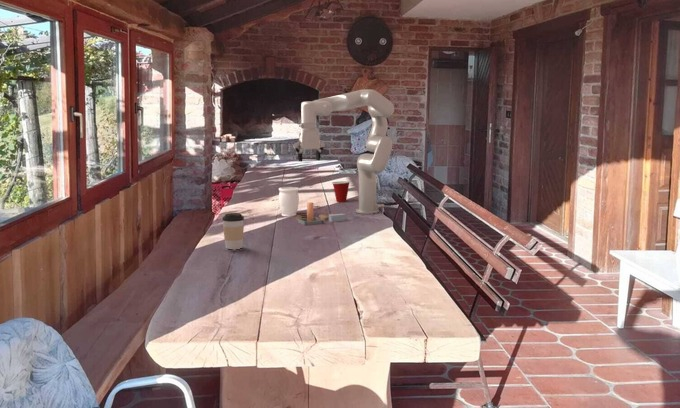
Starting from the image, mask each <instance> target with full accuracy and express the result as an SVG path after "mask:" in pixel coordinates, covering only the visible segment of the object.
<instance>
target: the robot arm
mask: <svg viewBox="0 0 680 408" xmlns="http://www.w3.org/2000/svg"><path fill="white" fill-rule="evenodd" d="M300 105H301V106H300V111H301V112H300V115H301V117H300V118H301V119H300V121H301V122H300V124H298V128H300V129H299V135H298V141H297V142H295V143H293V144H292V147H293V149H294V151H295V152H296V153H297V160H298V162H303V151H304V150H305V151H306V150H315V151H316V152H315V160H316V161H320V160H321V152H322V151H323V150H324V148H325V147H326V146H325V145H326V143H325V142H323V141H321V139H320V132H319V128H317V116H318V117H319V116H321V117H327V116H329V115H331V113H333V112H346V111H350V110H354V109H357V108H361V107H365V106H366V107H367V112H368V114H369V116H370V117H371V121H372V122H371V128H370V132H369V134H368V136H367V139H366V143H365V148H366V150H367V151H368V152H371V153H361V154H360V155H359V156H358V157H357V160H356V167H357V171H358V174H357V175H358V208H356V209H355V212H356V213H357V214H359V215H360V214H361V215H374V214H373V213H375V214H378V213H377V212H379V213H380V208H381V209H382V208H383V209H384V208H385V204H384V203H381V204H380V203H377V176H376V174H380V173H382V172H384V171H385V169H386V167H387V165H388V162H389V159H390V157H391V153H392V150H393V141H392V139H391V137H389V136H387V133H388V129H389V128H388V125H389V124H388V119H387V118H389V117H392V116H393V114H394V112H395V106H394V104H393V103H392V102H391V100H390V99H387V98H386V97H385V96H384V95H383V94H381V93H380V92H378V91H376V90H375V89H371V88H369V89H367V88H366V89H359V90H355V91H349V92H345V93H341V94H338V95H333V96H329V97H323V98H320V99H319V98H318V99H314V100H312V101H309V100H308V101H302V102H301V103H300Z"/></svg>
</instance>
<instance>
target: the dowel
mask: <svg viewBox="0 0 680 408" xmlns="http://www.w3.org/2000/svg"><path fill="white" fill-rule="evenodd" d="M314 208H315V207H314V202H307V203H306V214H307V222H309V221H314V217H315V215H314Z"/></svg>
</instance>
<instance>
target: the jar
mask: <svg viewBox="0 0 680 408" xmlns="http://www.w3.org/2000/svg"><path fill="white" fill-rule="evenodd" d="M278 191H279V193H278V205H279V209H280V212H281V216H283V217H294V216H297V215H298V214H297V212H298V209H299V202H300V197H299V192H298V191H299V187H295V186H283V187H282V186H281V187H279V188H278Z"/></svg>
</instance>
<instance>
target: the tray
mask: <svg viewBox="0 0 680 408" xmlns="http://www.w3.org/2000/svg"><path fill="white" fill-rule="evenodd" d="M296 221H297V223H299V224H301V225H303V226H310V225H321V224H324V223H325V221H324V220H322V219H320V218H319V217H316V216H314V221H309V222H307V218H303V219H297V220H296Z"/></svg>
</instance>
